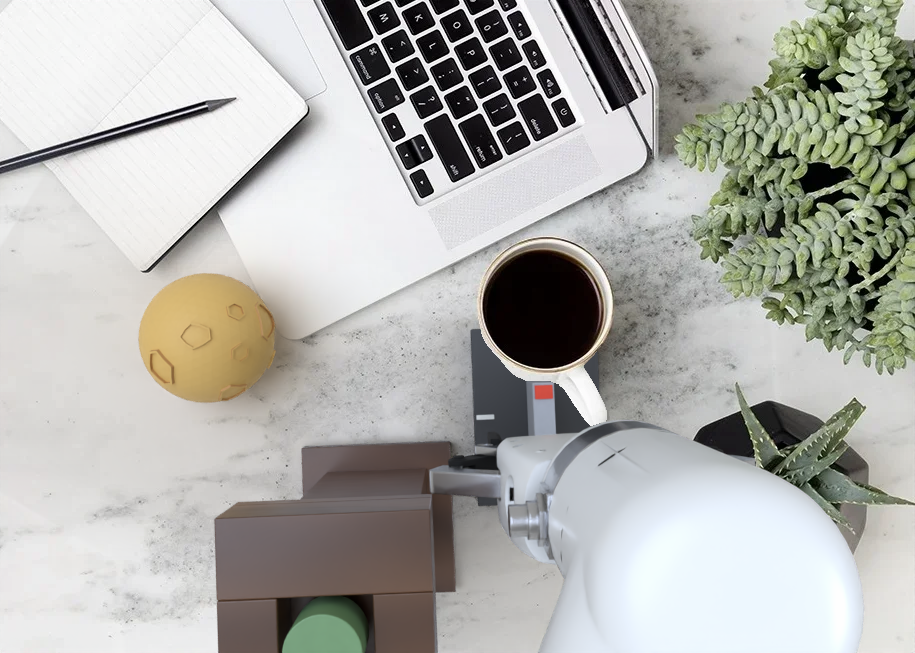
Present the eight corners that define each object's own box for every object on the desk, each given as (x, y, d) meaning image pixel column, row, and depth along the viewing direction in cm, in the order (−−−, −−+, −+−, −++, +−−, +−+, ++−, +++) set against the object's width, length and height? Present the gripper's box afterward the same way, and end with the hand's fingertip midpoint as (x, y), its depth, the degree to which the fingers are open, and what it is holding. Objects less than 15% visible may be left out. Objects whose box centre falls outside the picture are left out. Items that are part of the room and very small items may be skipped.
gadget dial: (549, 449, 62) (557, 457, 57) (529, 450, 62) (535, 458, 57) (546, 379, 62) (554, 382, 57) (526, 380, 62) (532, 382, 57)
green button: (370, 668, 38) (364, 694, 35) (295, 671, 38) (282, 698, 35) (368, 592, 38) (361, 612, 35) (293, 595, 38) (280, 616, 35)
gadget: (598, 495, 64) (604, 501, 62) (476, 500, 64) (478, 506, 61) (590, 325, 65) (596, 324, 62) (470, 330, 65) (471, 329, 62)
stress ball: (144, 361, 64) (88, 363, 54) (204, 257, 64) (160, 240, 54) (249, 421, 64) (213, 434, 54) (309, 317, 64) (284, 310, 54)
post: (455, 587, 64) (460, 729, 40) (308, 594, 64) (224, 740, 40) (450, 440, 64) (451, 492, 40) (303, 446, 64) (217, 502, 40)
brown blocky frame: (440, 730, 40) (440, 772, 36) (244, 739, 40) (221, 782, 36) (432, 493, 40) (430, 509, 36) (237, 501, 40) (213, 518, 36)
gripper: (426, 612, 32) (434, 518, 49) (844, 596, 32) (707, 507, 49) (420, 430, 32) (430, 399, 49) (836, 415, 32) (703, 389, 50)
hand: (569, 453), depth 49 cm, fingers open, 9 cm apart
